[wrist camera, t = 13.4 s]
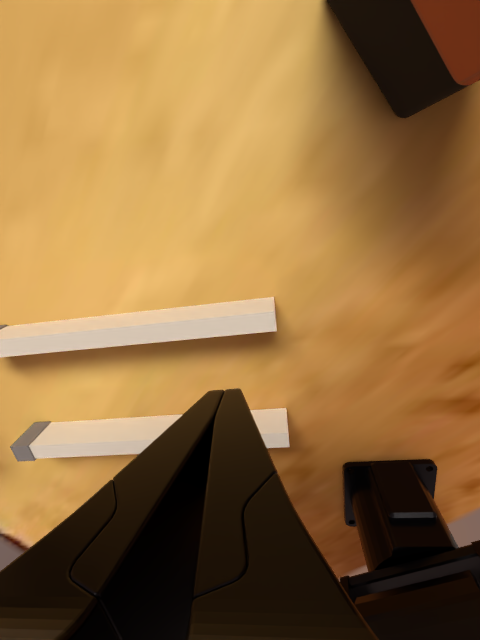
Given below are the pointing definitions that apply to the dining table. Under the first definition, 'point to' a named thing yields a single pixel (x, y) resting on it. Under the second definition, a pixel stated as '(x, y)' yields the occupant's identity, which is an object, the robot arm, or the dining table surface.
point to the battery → (415, 47)
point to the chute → (133, 330)
